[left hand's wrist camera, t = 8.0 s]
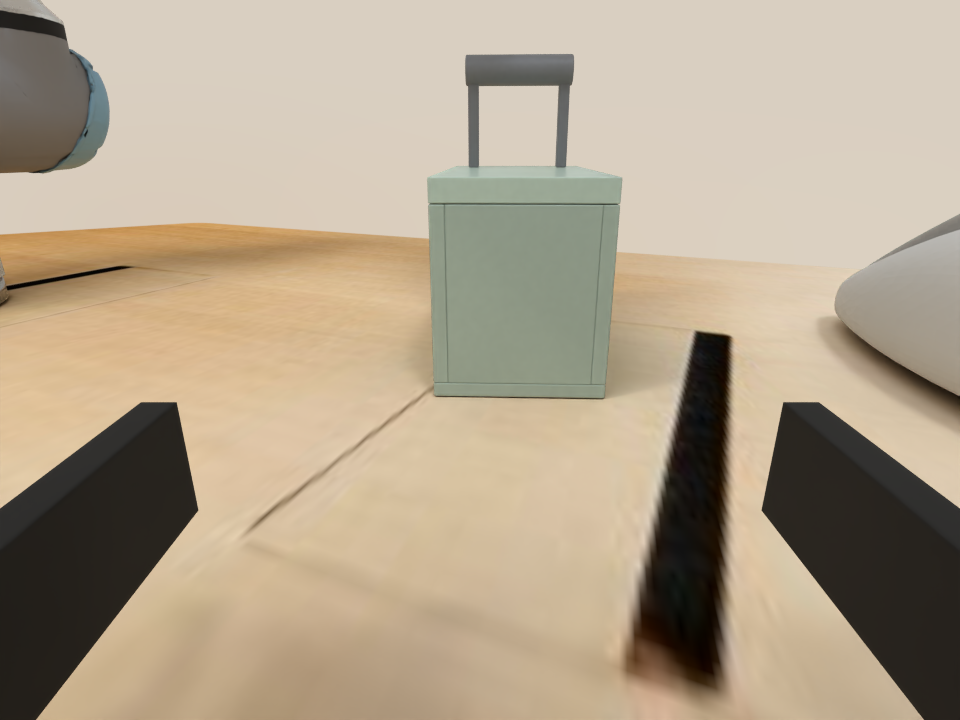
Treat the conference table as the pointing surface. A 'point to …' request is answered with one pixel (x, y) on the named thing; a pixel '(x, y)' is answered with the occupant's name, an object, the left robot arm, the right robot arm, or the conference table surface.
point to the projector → (912, 305)
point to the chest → (521, 298)
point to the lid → (522, 180)
